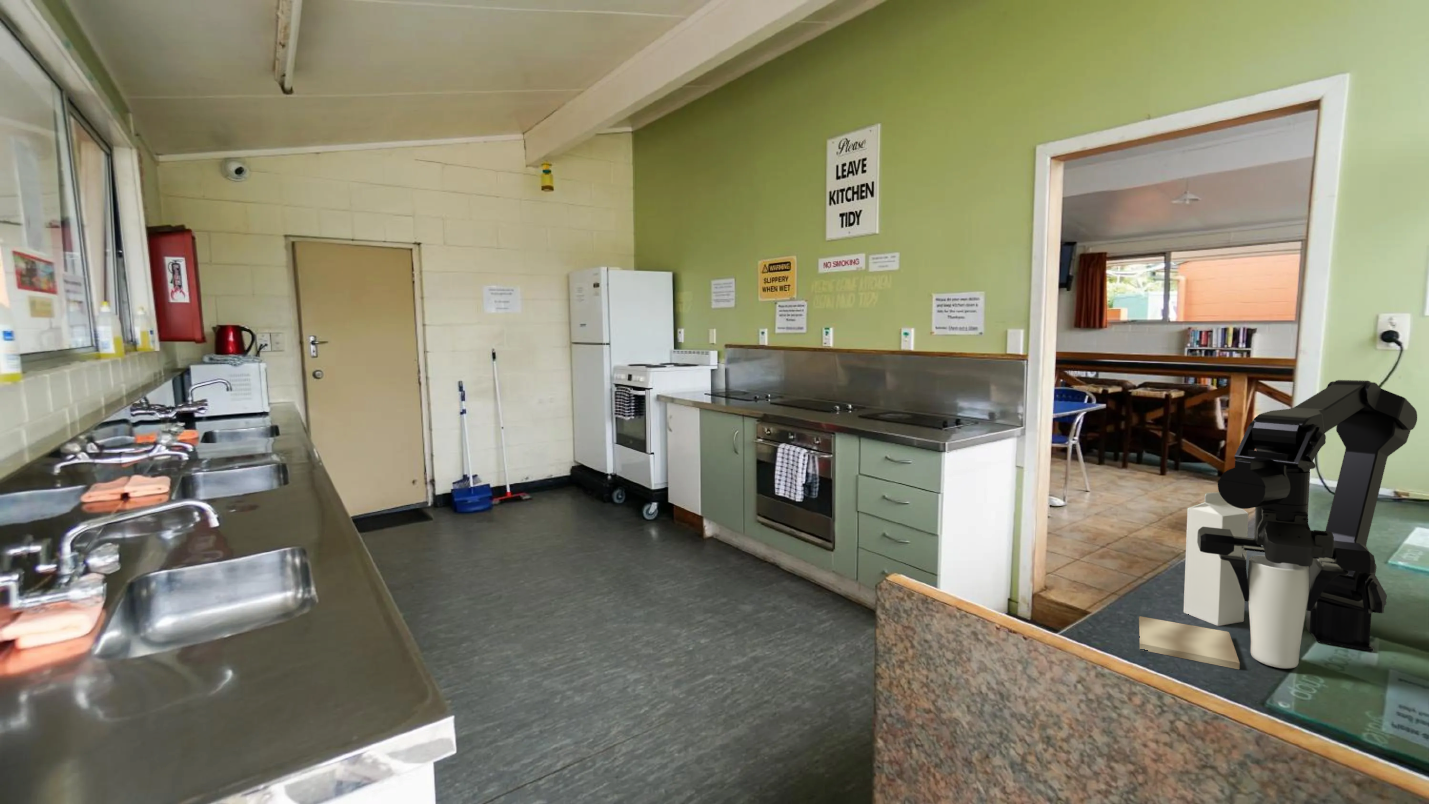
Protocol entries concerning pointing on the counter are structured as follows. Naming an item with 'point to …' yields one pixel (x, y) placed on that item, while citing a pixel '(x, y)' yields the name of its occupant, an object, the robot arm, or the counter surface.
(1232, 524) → the milk
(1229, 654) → the birch board
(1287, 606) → the drinking glass
